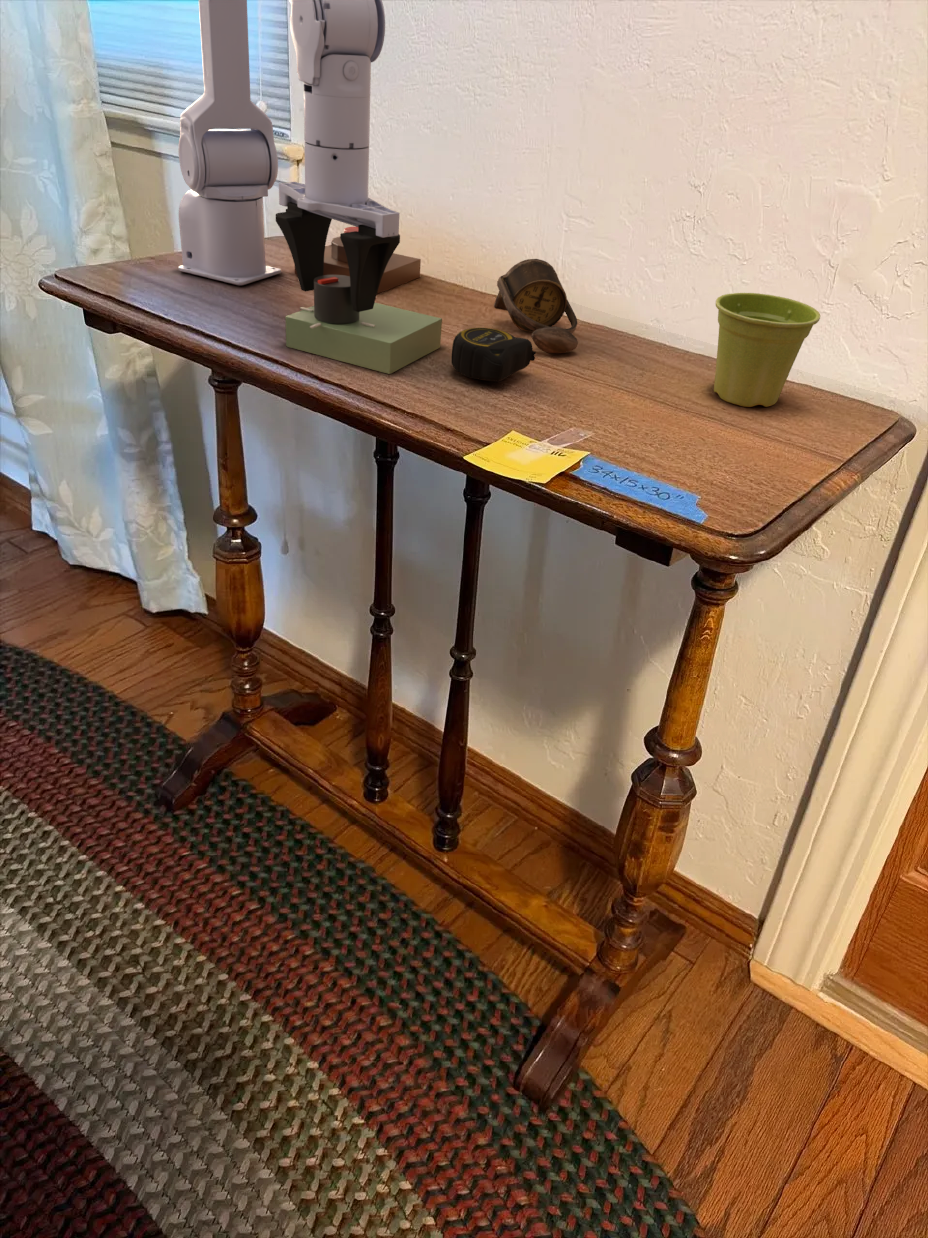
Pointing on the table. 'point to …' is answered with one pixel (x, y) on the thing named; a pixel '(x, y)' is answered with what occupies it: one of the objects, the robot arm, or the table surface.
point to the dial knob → (333, 300)
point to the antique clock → (537, 304)
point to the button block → (394, 273)
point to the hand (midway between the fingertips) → (336, 299)
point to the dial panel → (367, 337)
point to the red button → (350, 229)
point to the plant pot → (758, 345)
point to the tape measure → (490, 353)
